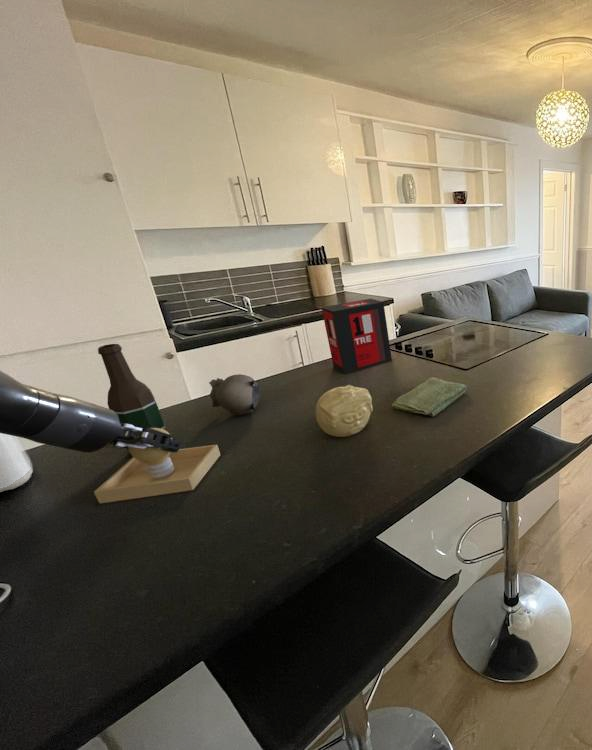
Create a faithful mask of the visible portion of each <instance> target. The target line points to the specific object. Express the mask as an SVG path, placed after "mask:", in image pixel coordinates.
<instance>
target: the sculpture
mask: <svg viewBox="0 0 592 750" xmlns="http://www.w3.org/2000/svg"><path fill="white" fill-rule="evenodd" d="M372 401H373V400H372V396H371V395H370V391H369V390H368V389H367V388H364V387H358V386H353V385H352V384H346V385H345V386H337V387H334V388H332V389H329V390H327V391H326V392H324V393H323V394H322V395H320V397H319V399H318V401H317V403H316V406H315V418H316V421H317V424H318V426H319V427H320V429H321V430H322V431H323V433H325V434H327V435H329V436H332V437H336V438H346V437H351V436H353V435H355V434H358V433H359V432H361V431H362V430H364V429H365V427H366V426H367V424H368V422H369V421H370V417H371V414H372V412H373V410H374V409H373V404H372V403H373V402H372Z"/></svg>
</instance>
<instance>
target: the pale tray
mask: <svg viewBox="0 0 592 750" xmlns="http://www.w3.org/2000/svg"><path fill="white" fill-rule="evenodd" d="M221 456H222V454H221V452H220V449H219V446H218V444H210V445H202V446H195V447H187V448H179V450H178V452H177V453H172V452H170V454H169V456H168V457H170V458H171V462H172V463H173V466H174V471H173V472H172V474H171V475H169V476H167V477H165V478H161V479H154V478H151V476H150V473H149V472H148V469H147V467H146V465H147V464H146V463H144V462H142V461H139V460H137V459H136V458H134V457H131V458H130V459H129V460H128V461H127V462H125V464H123V465H122V466H121V467H120V468H119V469H118V470H117V471H115V472H114V473H113V474H112V475H111V476H110V477H109V478H107V480H106V481H104V482H103V483H102V484H101V485H100V486H98V488H96V489H95V490H94V491H93V493H94V496H95V497H96V499H97V502H98V503H99V504H107V503H113V502H121V501H128V500H134V499H141V498H149V497H154V496H161V495H162V496H163V495H168V494H175V493H176V494H177V493H182V492H183V493H184V492H189V491H190V492H191V491H194V490H195V488H196V487H197V486H198V485H199V483H201V481H202V480H203V478H204V477H205V476H206V474H207V473H208V472H209V471H210V469H211V468H212V467H213V466H214V464H215V463H216V462H217V460H218V459H219V457H221Z"/></svg>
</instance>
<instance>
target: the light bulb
mask: <svg viewBox="0 0 592 750" xmlns="http://www.w3.org/2000/svg"><path fill="white" fill-rule="evenodd" d="M151 429H154V430H157V431H160V432H163V433H166V434H170V433H169V432H167V431H168V430H167V431H166V430H164V429H160V428H151ZM171 439H173V437H172V438H171ZM136 444H137V445H140V444H141V443H140V442H137V443H136ZM128 449H129V452H130V454H131V455H132V456H133V457H134V458H136V459H137V460H139V461H142V462H144V463H146V464H147V465H146V467H147V469H148V472H149V473H150V476H151V478H154V479H161V478H165V477H167V476H169V475H171V474H172V472H173V471H174V466H173V463H172V462H171V458H170V457H168V456H169V454H170V452H168V451H164V450H160V449H159V450H157V449H154V448H148V447H147V448H145V449H137V448H131V447H128ZM129 452H128V453H129ZM130 454H129V455H130ZM133 457H132V458H133Z"/></svg>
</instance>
